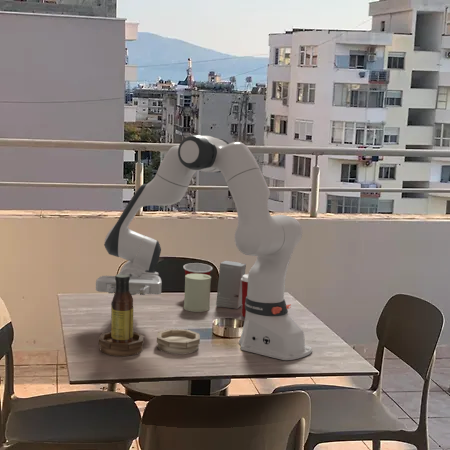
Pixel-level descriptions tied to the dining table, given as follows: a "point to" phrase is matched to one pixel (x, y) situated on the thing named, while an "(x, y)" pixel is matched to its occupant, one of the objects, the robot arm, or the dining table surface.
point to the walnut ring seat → (120, 345)
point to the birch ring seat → (178, 341)
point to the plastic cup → (197, 268)
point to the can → (197, 292)
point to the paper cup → (244, 292)
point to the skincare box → (230, 284)
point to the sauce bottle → (122, 311)
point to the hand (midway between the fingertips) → (126, 291)
